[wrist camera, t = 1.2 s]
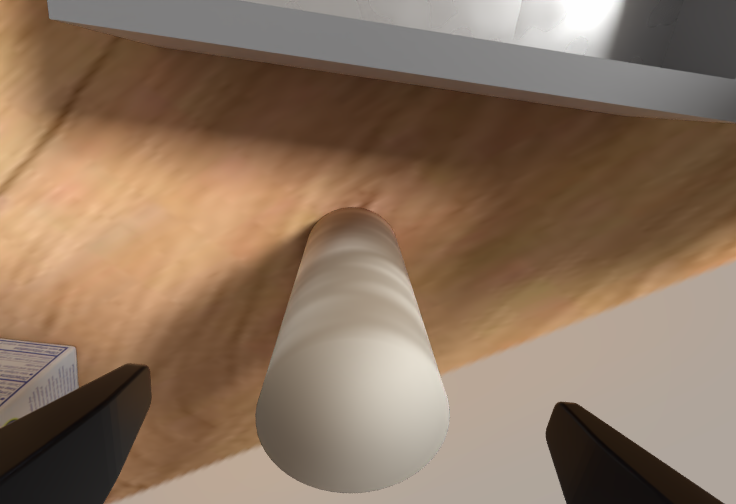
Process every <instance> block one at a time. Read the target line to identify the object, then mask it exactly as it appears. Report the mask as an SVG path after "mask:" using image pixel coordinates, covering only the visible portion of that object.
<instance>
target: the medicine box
mask: <svg viewBox="0 0 736 504" xmlns="http://www.w3.org/2000/svg"><path fill="white" fill-rule="evenodd" d="M78 388H79V384H78V369H77V354H76V348H75V347H74V346H67V345H57V344H47V343H38V342H29V341H20V340H11V339H2V338H0V428H2V427H3V426H5V425H7V424H9V423H11V422H13V421H15V420H17V419H19V418H21V417H23V416H25V415H27V414H29V413H31V412H33V411H35V410H37V409H39V408H41V407H43V406H45V405H47V404H49V403H51V402H53V401H54V400H56V399H58V398H60V397H62V396H64V395H66V394H68V393H70V392H72V391H74V390H76V389H78Z"/></svg>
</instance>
